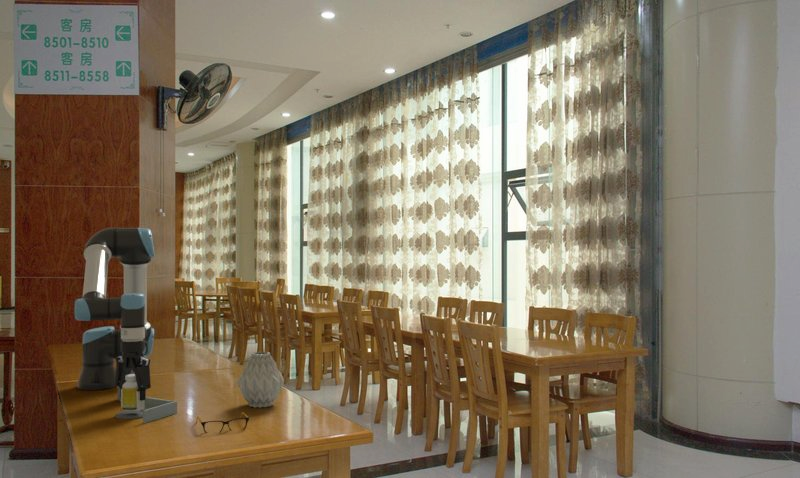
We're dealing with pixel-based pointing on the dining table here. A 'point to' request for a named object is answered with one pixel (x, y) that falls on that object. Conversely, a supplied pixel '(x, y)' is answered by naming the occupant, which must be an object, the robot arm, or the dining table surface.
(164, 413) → the fence end
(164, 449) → the dining table surface
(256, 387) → the vase
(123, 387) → the pill bottle
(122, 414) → the coaster
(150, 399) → the fence long
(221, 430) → the eyeglasses
